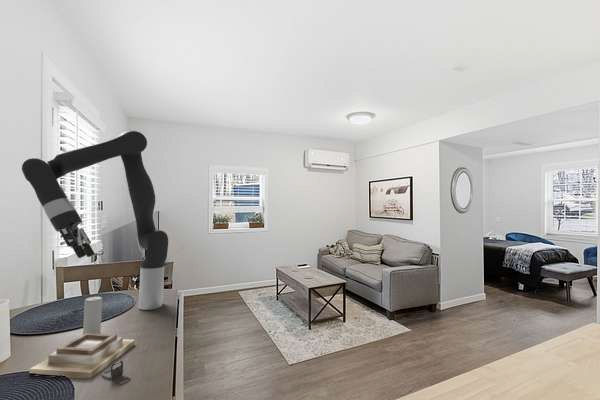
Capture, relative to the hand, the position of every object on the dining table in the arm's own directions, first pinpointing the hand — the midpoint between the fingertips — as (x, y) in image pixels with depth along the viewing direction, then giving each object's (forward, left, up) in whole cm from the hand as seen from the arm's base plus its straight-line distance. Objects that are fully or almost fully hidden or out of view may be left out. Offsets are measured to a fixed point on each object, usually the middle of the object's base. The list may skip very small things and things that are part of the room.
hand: (87, 256), depth 96 cm
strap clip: (+22, +27, -26) cm, 44 cm away
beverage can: (0, +3, -26) cm, 26 cm away
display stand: (+14, +13, -26) cm, 33 cm away
